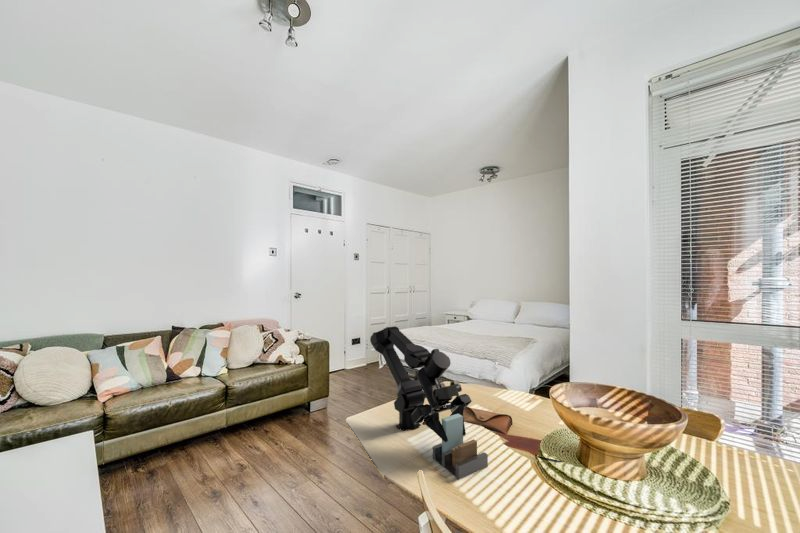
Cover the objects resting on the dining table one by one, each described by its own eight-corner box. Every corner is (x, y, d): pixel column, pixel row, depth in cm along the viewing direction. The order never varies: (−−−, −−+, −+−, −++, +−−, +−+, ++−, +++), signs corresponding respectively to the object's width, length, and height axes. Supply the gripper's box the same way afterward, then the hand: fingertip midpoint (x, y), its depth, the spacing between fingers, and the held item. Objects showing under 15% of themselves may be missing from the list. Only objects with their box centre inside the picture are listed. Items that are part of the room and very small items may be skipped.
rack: (432, 460, 89) (432, 446, 89) (460, 450, 94) (459, 436, 94) (458, 482, 79) (458, 466, 80) (487, 469, 85) (487, 454, 85)
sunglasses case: (454, 423, 111) (457, 402, 114) (460, 426, 116) (462, 406, 119) (508, 435, 102) (510, 412, 105) (511, 437, 108) (513, 416, 111)
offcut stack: (452, 465, 85) (451, 441, 85) (467, 459, 88) (467, 435, 88) (461, 473, 82) (460, 447, 82) (477, 466, 85) (476, 441, 85)
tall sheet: (442, 458, 88) (441, 418, 89) (458, 452, 91) (458, 413, 92) (446, 462, 87) (446, 421, 87) (463, 455, 90) (462, 416, 90)
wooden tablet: (563, 447, 96) (562, 441, 96) (564, 465, 87) (564, 459, 87) (474, 429, 107) (474, 424, 108) (467, 443, 98) (467, 438, 98)
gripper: (416, 377, 88) (441, 435, 78) (467, 367, 98) (495, 417, 88) (401, 397, 95) (423, 452, 85) (450, 385, 104) (475, 434, 95)
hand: (455, 438), depth 88 cm, fingers closed on tall sheet, 6 cm apart
